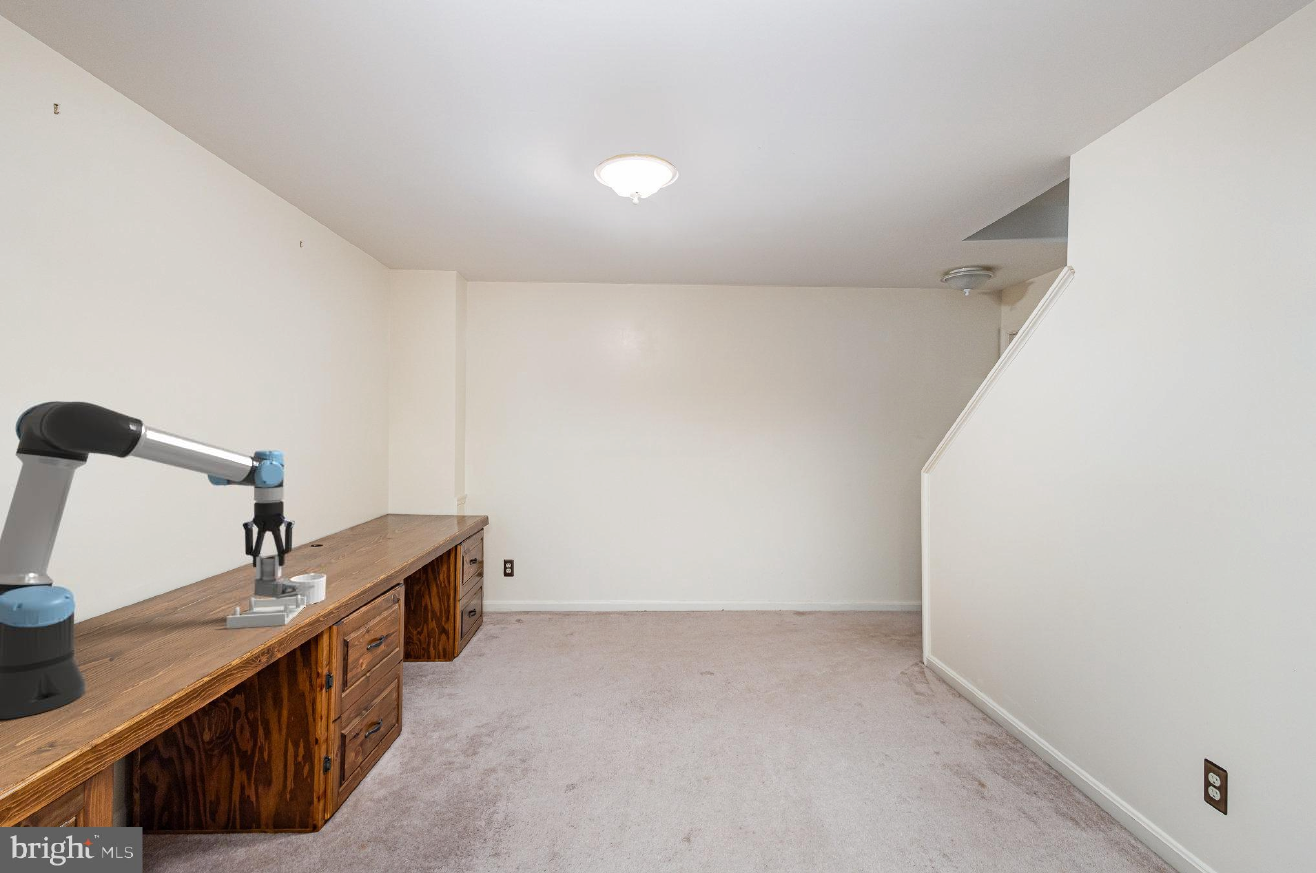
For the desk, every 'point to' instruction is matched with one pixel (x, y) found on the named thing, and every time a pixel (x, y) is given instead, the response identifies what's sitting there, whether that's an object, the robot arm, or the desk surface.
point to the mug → (309, 580)
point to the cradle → (267, 612)
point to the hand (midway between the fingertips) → (268, 577)
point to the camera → (276, 582)
